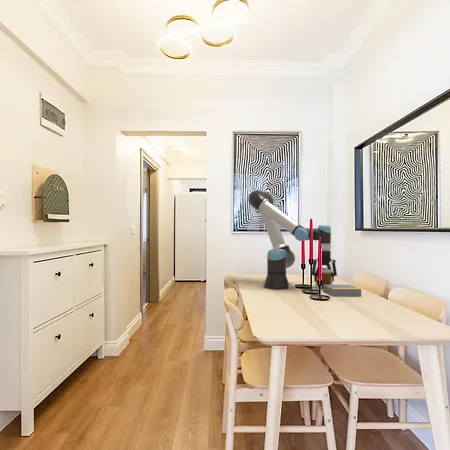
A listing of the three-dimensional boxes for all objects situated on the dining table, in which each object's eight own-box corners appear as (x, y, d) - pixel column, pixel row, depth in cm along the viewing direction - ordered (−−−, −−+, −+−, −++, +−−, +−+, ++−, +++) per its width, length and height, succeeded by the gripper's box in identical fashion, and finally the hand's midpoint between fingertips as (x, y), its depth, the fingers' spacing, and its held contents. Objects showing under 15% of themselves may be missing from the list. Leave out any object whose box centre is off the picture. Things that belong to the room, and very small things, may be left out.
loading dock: (332, 296, 179) (332, 288, 179) (323, 291, 193) (323, 284, 193) (361, 296, 180) (361, 288, 180) (349, 291, 194) (350, 284, 194)
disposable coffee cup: (312, 287, 205) (312, 268, 205) (324, 286, 209) (324, 267, 210) (323, 290, 197) (323, 270, 197) (335, 289, 201) (335, 269, 201)
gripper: (309, 250, 199) (309, 288, 199) (343, 250, 200) (342, 288, 200) (305, 249, 206) (305, 285, 206) (338, 249, 208) (337, 285, 208)
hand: (323, 287), depth 203 cm, fingers closed on disposable coffee cup, 8 cm apart
